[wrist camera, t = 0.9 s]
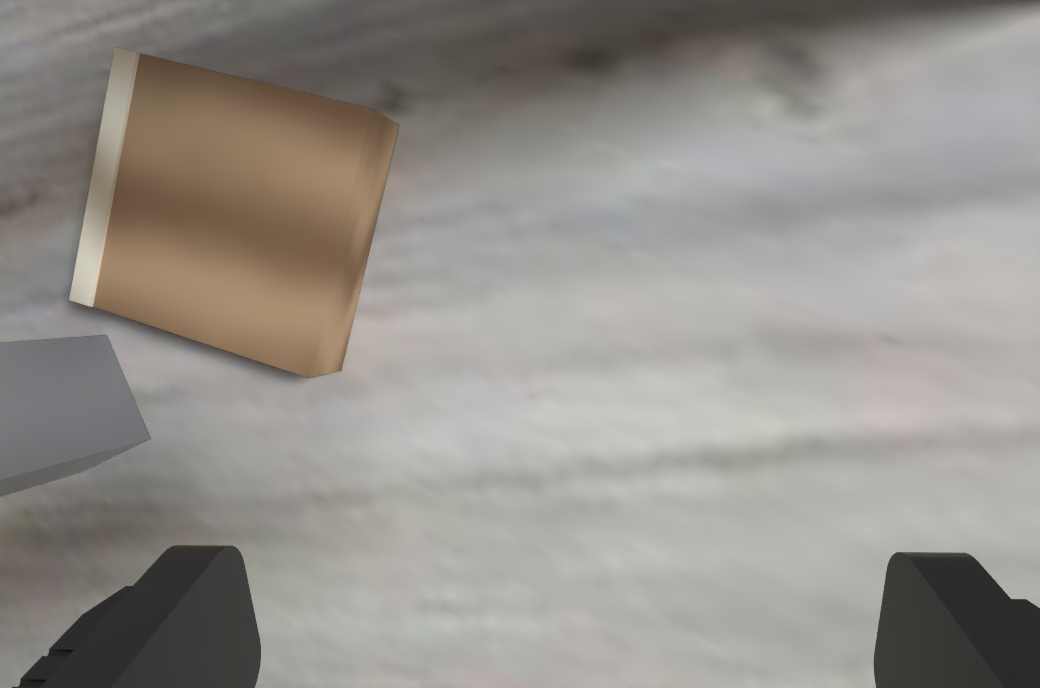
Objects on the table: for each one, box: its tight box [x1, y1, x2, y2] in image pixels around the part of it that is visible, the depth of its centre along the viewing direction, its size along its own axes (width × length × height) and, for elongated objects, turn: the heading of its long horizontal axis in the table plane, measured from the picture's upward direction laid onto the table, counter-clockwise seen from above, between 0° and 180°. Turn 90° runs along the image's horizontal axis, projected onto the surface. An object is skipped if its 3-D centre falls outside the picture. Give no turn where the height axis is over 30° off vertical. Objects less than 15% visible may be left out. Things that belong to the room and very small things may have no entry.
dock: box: [69, 47, 399, 378], centre depth 33 cm, size 12×13×3 cm
